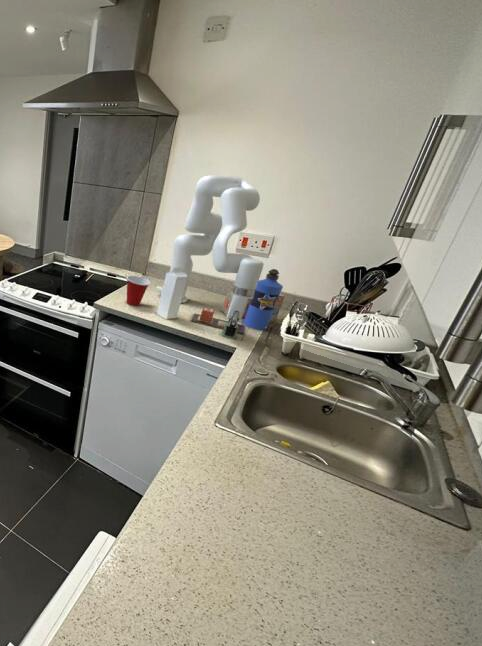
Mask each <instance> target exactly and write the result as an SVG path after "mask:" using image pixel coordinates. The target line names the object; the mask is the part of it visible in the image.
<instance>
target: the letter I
mask: <svg viewBox="0 0 482 646" xmlns="http://www.w3.org/2000/svg"><path fill="white" fill-rule="evenodd" d="M228 325H229V323H228V322H226V324H225V327H224V330H223V329H222V330H223V331H222V334H221V336H222V337H226V338H229V339H232V340H233V339H236V335H237V334H238V333H237V330H238V325H237V329H236V332H235V335H234V337H230V336H226V335H225V332H226V329H227V326H228Z"/></svg>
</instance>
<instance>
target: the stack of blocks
mask: <svg viewBox="0 0 482 646" xmlns="http://www.w3.org/2000/svg"><path fill="white" fill-rule="evenodd" d="M232 298H233V294H232V293H231V292H227V294H226V297H225V300H224V302H223V306H222V308H221V312H223V313H224V314H225V316H227V313H228V310H229V307H230V304H231V301H232ZM252 299H253V298H249V299H248V302H247V305H246V308H245V311H244V313H243V316H242V318H244V319H245V316H246V313H247V311H248V308H249V305H250V303H251V301H252ZM284 299H285V295H283V294H282V292H281V293H280V294H279V296H278V298H277V300H276V302H275V306H274V311H273V313H272V316H271V319H270V321H269V322H276V320H277V318H278V315H279V312H280V310H281V308H282V305H283V302H284Z"/></svg>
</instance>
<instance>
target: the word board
mask: <svg viewBox="0 0 482 646" xmlns="http://www.w3.org/2000/svg"><path fill="white" fill-rule="evenodd" d="M200 316H201V314H199V313H194V314H193V316H192V318H191V320H190V322H192V323H195V324H200V325H204V326H207V327H211V328H216V329H219V330H224V327H225V324H226V322H228V321H229V320H228V321H227V320H224V319H221V318H217V317H213V318H212V321H211V323H210V322H206V321H202V320H200ZM237 325H238V330H237V333H236V334H239V335H244V333H245V325H244V324H240V323H237Z"/></svg>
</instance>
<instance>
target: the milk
mask: <svg viewBox="0 0 482 646" xmlns="http://www.w3.org/2000/svg"><path fill="white" fill-rule="evenodd" d="M183 270H184V267H175V268H173V271H171V272H170V271H169V272H166V274H165V278H164V282H163V286H162V288H163V290H162V292H161V293H162V294H161V293H160V295H161V296H160V298H159V302H158V307H157V311H156V315H158V316H159V317H162V318H163V319H165V320H170V319H177V318H178V314H179V310H180V306H181V304H182V303H181V299H182V295H183V292H184V288H185V284H186V280H187V275H186V274H185V272H184V271H183Z"/></svg>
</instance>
